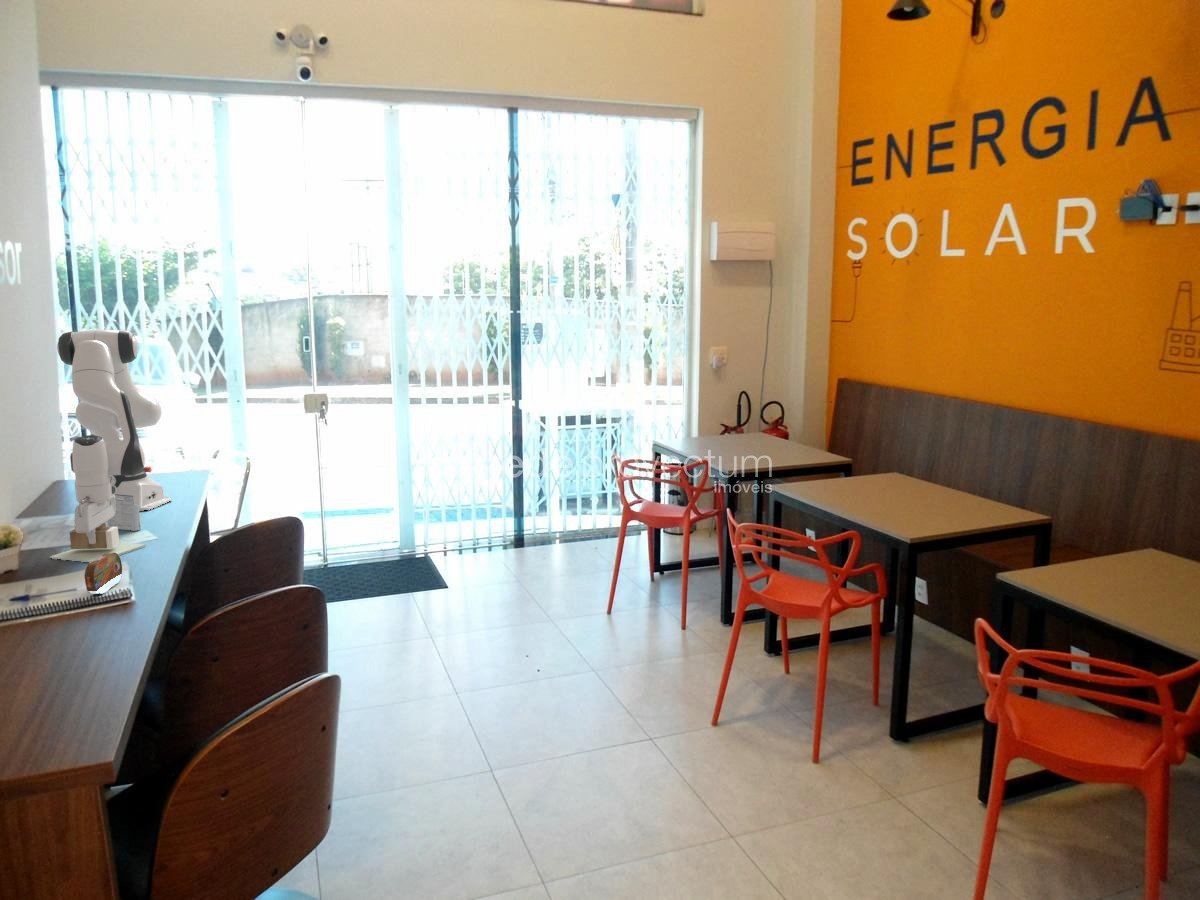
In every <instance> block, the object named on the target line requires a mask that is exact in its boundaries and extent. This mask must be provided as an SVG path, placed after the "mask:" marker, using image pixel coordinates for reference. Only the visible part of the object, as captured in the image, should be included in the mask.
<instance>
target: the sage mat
mask: <svg viewBox="0 0 1200 900" xmlns="http://www.w3.org/2000/svg"><path fill="white" fill-rule="evenodd" d="M145 547H146V544H144V543H133V542H125V541H123V542H122V541H119V544H117V545H116V546H115V547H114V548H102V549H70V550H66V551H63V552H60V553H57V554H54V555H51V556H49V559H50V558H52V559H51V560H57V559H61V560H60V561H66V560H72V561H71V562H74V561H82V562H81V563H83V562H92V561H94V560H95V559H97V558H98V557H100V556H101V555H103V554H107V553H117V554H118V555H119V557H120V556H123V555H125V554H128V553H131V552H134V551H137V550H140V549H142V548H145Z"/></svg>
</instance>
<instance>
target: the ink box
mask: <svg viewBox="0 0 1200 900" xmlns="http://www.w3.org/2000/svg"><path fill="white" fill-rule="evenodd" d="M119 497H120V498H122V499H123V500H116V512H115V516H114V517H112V518H111V519H109V520H108V521H107V527H118V530H120V531H121V530H123V531H130V530H131V531H132V532H138V531H137V530H139V531H141V518H140V511H139V504H134V502H133V496H129V495H118V494H115V499H116V498H119ZM131 531H130V532H131Z"/></svg>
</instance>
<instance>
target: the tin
mask: <svg viewBox="0 0 1200 900" xmlns="http://www.w3.org/2000/svg"><path fill="white" fill-rule="evenodd" d="M122 573H123V563H122V560H121V557H120V556H119V555H118V554H117V553H107V554H103V555H101V556H100V557H98V558H97V559H95V560H94V561H92V562H91V563H87V565H86V568H85V571H84V575H83V576H84V582H85V587H86V591H87V592H88V591H97V590H98V589H99V588H100V587H102V586H103V585H104V584H106V583H107V582H108V581H110V580H111V579H113V578H115V577H116V576H118V575H120V574H122Z"/></svg>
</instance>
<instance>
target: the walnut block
mask: <svg viewBox="0 0 1200 900" xmlns="http://www.w3.org/2000/svg"><path fill="white" fill-rule="evenodd" d="M95 535H96V537H97V542H96V543H95V544H89V539H88V537H87V535H86V533H77V532H76V530H75V528H74V529H73V530H70V531H69V539H70V550H72V549H102V548H114V547H115V546H116V545H117V544H119V542H120V537H119V529H118V527H108V526H107V527H97V528H95Z"/></svg>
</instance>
